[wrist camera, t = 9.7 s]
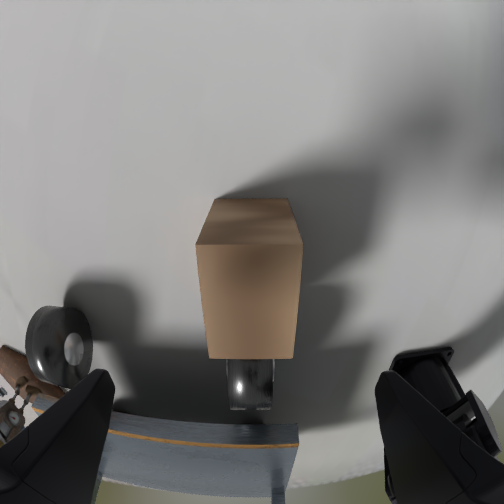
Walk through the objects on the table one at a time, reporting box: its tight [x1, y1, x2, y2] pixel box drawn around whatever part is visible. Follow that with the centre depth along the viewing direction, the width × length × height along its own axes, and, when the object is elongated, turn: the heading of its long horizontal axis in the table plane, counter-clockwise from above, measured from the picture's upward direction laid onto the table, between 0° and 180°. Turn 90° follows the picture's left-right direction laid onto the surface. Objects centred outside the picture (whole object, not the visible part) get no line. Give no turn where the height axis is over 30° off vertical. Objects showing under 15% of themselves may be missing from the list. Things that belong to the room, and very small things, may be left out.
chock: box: [196, 199, 303, 359], centre depth 15 cm, size 4×6×6 cm, turn 0°
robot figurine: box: [0, 346, 65, 447], centre depth 20 cm, size 11×9×12 cm
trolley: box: [25, 306, 299, 504], centre depth 18 cm, size 20×20×12 cm
